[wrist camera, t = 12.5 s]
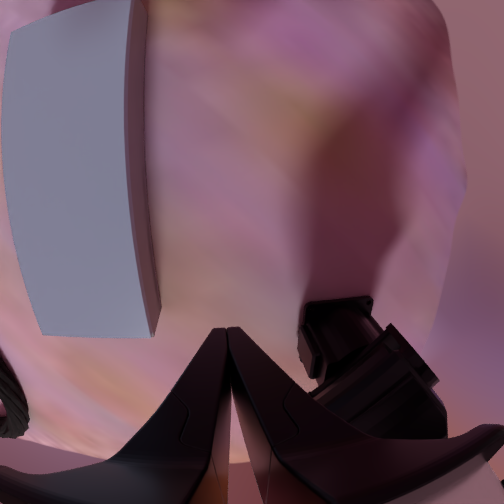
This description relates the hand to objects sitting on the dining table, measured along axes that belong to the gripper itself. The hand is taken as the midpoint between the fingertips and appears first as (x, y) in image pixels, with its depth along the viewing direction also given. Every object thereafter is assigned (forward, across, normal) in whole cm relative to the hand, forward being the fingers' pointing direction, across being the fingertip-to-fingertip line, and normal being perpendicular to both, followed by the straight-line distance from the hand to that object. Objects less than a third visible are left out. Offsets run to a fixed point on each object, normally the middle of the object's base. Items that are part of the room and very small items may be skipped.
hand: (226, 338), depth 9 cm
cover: (+9, +9, -5) cm, 14 cm away
